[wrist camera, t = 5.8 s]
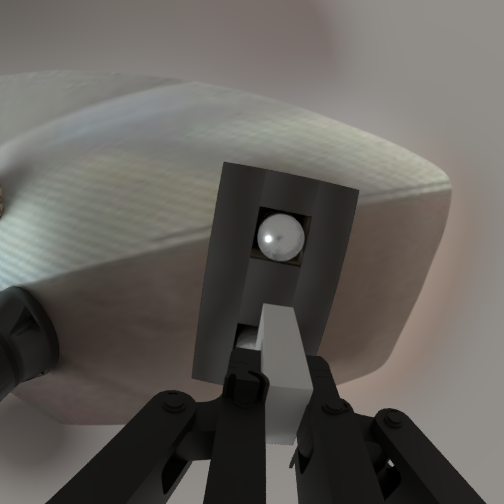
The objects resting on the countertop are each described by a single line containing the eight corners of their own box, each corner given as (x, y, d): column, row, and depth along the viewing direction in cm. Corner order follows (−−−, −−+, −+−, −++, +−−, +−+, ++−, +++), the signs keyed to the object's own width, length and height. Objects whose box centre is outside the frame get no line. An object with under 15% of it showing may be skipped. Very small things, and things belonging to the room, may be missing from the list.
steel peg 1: (234, 352, 30) (229, 383, 25) (241, 319, 29) (236, 347, 24) (272, 359, 30) (273, 390, 25) (280, 326, 29) (283, 355, 24)
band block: (201, 350, 35) (191, 378, 29) (231, 166, 30) (223, 161, 25) (296, 367, 35) (301, 396, 29) (342, 189, 30) (359, 190, 25)
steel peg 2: (255, 244, 31) (253, 256, 26) (262, 206, 30) (262, 210, 25) (293, 251, 31) (298, 264, 26) (301, 214, 30) (308, 219, 25)
